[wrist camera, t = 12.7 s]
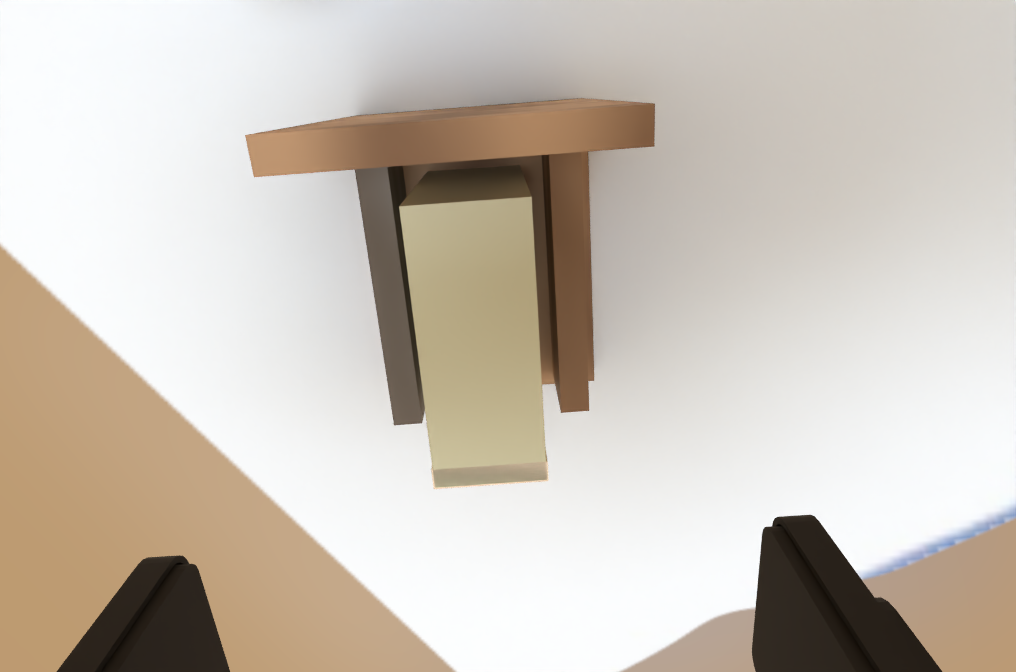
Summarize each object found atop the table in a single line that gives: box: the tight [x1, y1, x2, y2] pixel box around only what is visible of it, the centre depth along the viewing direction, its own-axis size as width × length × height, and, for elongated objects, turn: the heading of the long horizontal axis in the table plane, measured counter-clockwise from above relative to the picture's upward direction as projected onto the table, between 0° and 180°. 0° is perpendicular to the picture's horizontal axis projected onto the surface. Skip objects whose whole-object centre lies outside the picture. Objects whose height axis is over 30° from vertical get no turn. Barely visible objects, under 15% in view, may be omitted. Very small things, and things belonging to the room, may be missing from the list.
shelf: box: [245, 98, 655, 425], centre depth 24 cm, size 10×13×14 cm
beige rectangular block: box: [399, 165, 548, 489], centre depth 25 cm, size 4×10×9 cm, turn 4°
